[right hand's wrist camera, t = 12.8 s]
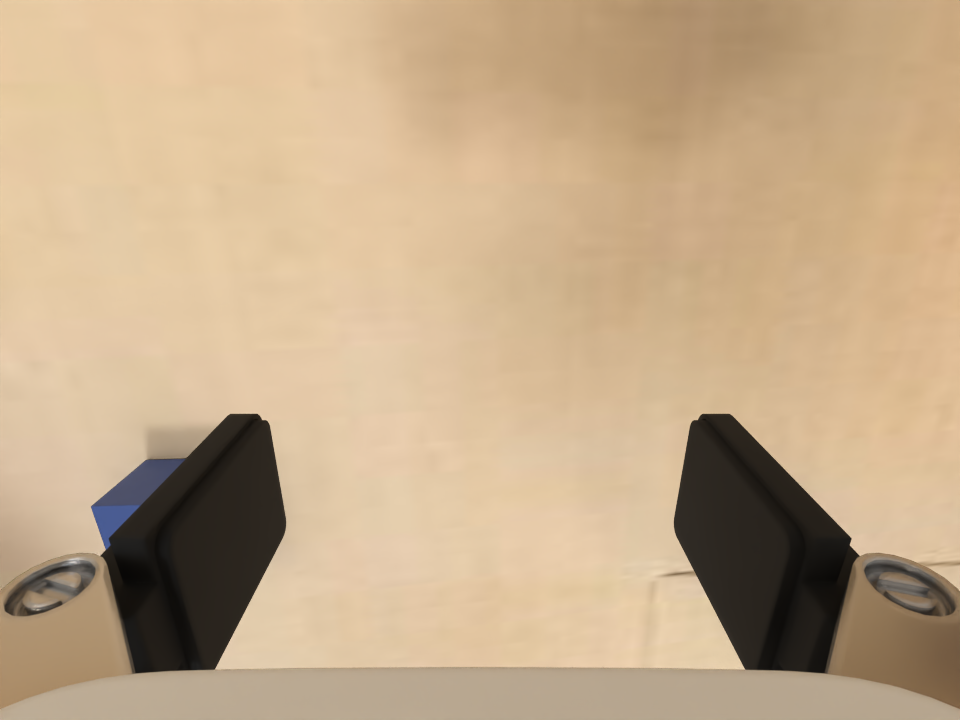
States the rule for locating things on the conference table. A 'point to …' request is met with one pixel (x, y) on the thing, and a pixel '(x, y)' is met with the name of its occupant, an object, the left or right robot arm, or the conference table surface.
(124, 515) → the brick
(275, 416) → the conference table surface
